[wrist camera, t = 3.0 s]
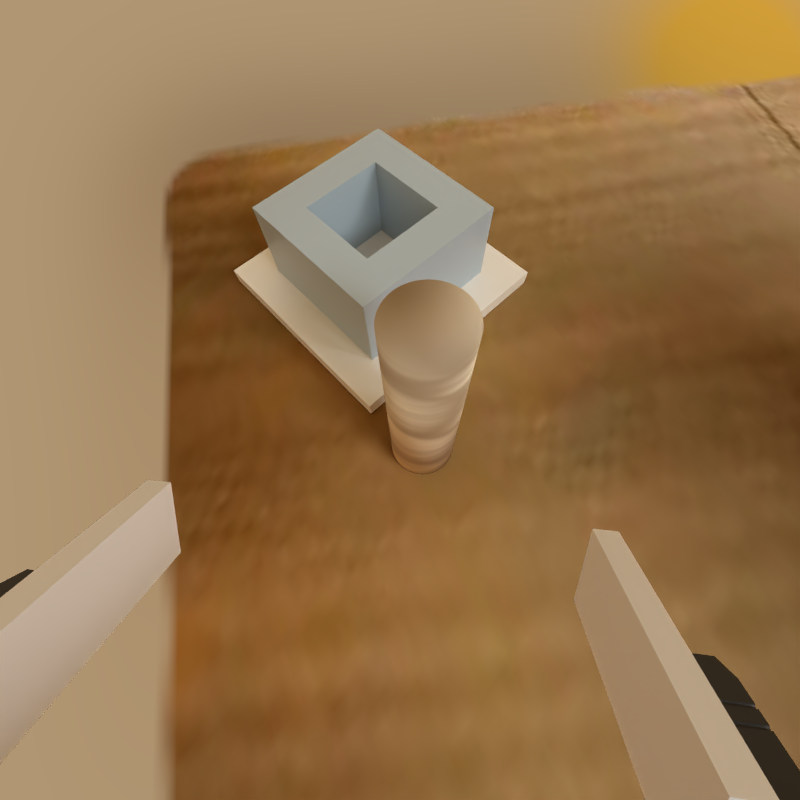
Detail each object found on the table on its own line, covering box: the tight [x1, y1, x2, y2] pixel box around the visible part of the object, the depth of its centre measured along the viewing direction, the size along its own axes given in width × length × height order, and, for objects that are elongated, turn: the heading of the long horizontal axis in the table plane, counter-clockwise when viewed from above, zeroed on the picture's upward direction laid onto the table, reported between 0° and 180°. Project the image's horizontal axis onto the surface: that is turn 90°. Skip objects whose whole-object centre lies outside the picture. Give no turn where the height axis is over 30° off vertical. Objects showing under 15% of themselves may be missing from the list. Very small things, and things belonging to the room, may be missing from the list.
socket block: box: [234, 129, 528, 413], centre depth 31 cm, size 16×16×7 cm
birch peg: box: [374, 279, 483, 474], centre depth 22 cm, size 4×4×14 cm
